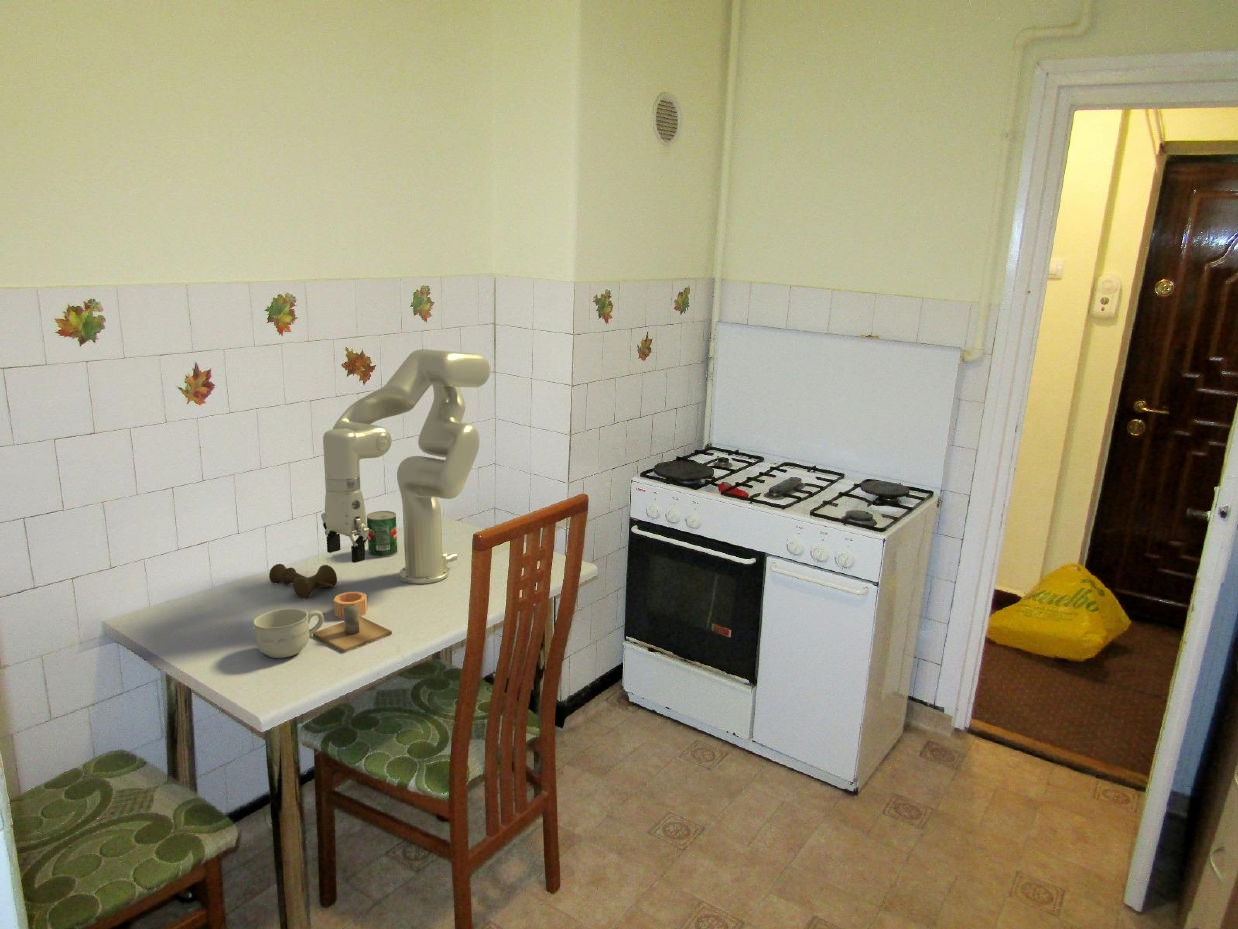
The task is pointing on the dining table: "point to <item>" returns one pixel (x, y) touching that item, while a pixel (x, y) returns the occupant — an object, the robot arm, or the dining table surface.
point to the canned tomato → (382, 534)
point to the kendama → (303, 579)
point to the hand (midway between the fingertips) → (346, 556)
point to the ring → (350, 603)
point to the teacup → (284, 631)
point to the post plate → (352, 640)
